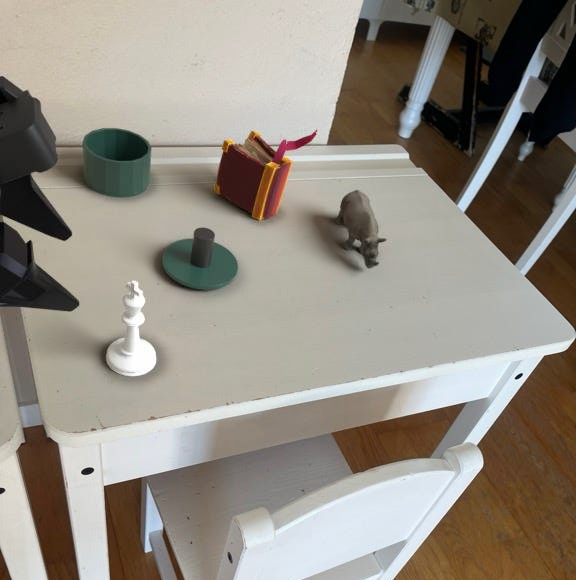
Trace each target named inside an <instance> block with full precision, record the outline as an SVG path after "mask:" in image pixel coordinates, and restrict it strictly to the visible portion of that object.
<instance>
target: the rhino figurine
mask: <svg viewBox="0 0 576 580" xmlns="http://www.w3.org/2000/svg"><path fill="white" fill-rule="evenodd" d="M340 202H341V203H340V205H339V211H338V214H337V216H335V218H334V222H335V223H336V224H337V225H344V226H345V227H346V228H347V233H348V239H347V240H346V241H344V242H343V243H342V247H343V248H344V249H345V250H346V251H351V250H353V246H354V245H353V244H354V243H355V242H356V241H359V243H360V246H359V247H358V251H359V253H360V254H361V256H362V258H363V261H364V265H365V267H366V269H372V268H374V267H378V266H379V264H380V261H377V258H378V255H379V244H380V243H385V242H386V241H387V240H388V239H387V238H383V237H379V235H378V234H379V230H380V229H379V223H378V221H377V219H376V217H375V214H374V213H375V212H374V210H373V208H372V206H371V204H370V198H369V197H368V195H367V194H366V193H364V192H362V191H361V190H359V189H354V190H353V191H350V192H348V193H346V194H345V195H344V196H343V197H342V199H341V201H340Z"/></svg>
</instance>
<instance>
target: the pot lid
mask: <svg viewBox="0 0 576 580" xmlns="http://www.w3.org/2000/svg"><path fill="white" fill-rule="evenodd" d="M215 237H216V233H215V232H214V231H213V230H212V229H210V228H208V227H197V228H195V229H194V231H193V236H192V238H182V239H179V240H176V241H174V242H172V243H169V244H168V246H167V247H165V249H164V250H163V252H162V256H161V264H162V268H163V270H164V272H165V273H166V274H167V276H168V277H170V278H171V279H172V280H174V281H175V282H176V283H178V284H180V285H182V286H185V287H188V288H190V289H196V290H204V291H205V290H216V289H221V288H223V287H226V286H228V285H229V284H231V283H232V282H233V281H234V280H235V279H236V277H237V275H238V271H239V263H238V260H237V258H236V256H235V255H234V254H233V252H231V251H230V250H229V248H227V247H225V246H224V245H221V244H220V243H217V242H216V241H215Z"/></svg>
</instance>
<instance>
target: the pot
mask: <svg viewBox="0 0 576 580" xmlns="http://www.w3.org/2000/svg"><path fill="white" fill-rule="evenodd" d="M152 151H153V149H152V145H151V144H150V142H149V140H147V139H146V138H145V137H143V136H142V135H141V134H139V133H136V132H134V131H131V130H128V129H123V128H119V127H118V128H117V127H102V128H98V129H93V130H91V131H89V132H88V133H86V134H85V135H84V137H83V139H82V171H83V178H84V181H85V183H86V185H87V186H88V187H89V188H90V189H92V190H93V191H95V192H97V193H99V194H101V195H104V196H108V197H111V198H112V197H113V198H132V197H135V196H136V197H137V196H139V195H142V194H143V193H144V192H146V191H147V190H148V188H149V187H150V180H151V167H152Z"/></svg>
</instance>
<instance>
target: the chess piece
mask: <svg viewBox="0 0 576 580" xmlns="http://www.w3.org/2000/svg"><path fill="white" fill-rule="evenodd" d="M125 288H126V289H127V290H128V291H129V292H127V293H125V294H124V295H122V303H123V305H124V307H125V308H124V309H125V311H124V312H122V315H121V318H120V319H121V322H122V323H123V324H124V325H126V330H125V335H124V337H121V338H118V339H116V340H114V341H113V342H111V343H110V345H108V347H107V350H106V355H105V361H106V364H107V366H108V367H109V368H110V369H111V370H112V371H113V372H115V373H116V374H119V375H121V376H125V377H139V376H143V375H146V374H147V373H149V372H151V371H152V370H153V369H154V367H155V366H156V363H157V354H156V350H155V348H154V346H153V345H152V344H151V343H150V342H149V341H148V340H145V339H144V338H140V330H139V327H140V326H142V325H143V324H144V322H145V319H146V318H145V315H144V313H143V312H142V308H143V307H144V305H145V303H146V298H145V296H144V291H143V290H141V289H140V288H139V282H138V281H137V280H135V279H134V280H131V282H130V281H128V282H127V283H125Z"/></svg>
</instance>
